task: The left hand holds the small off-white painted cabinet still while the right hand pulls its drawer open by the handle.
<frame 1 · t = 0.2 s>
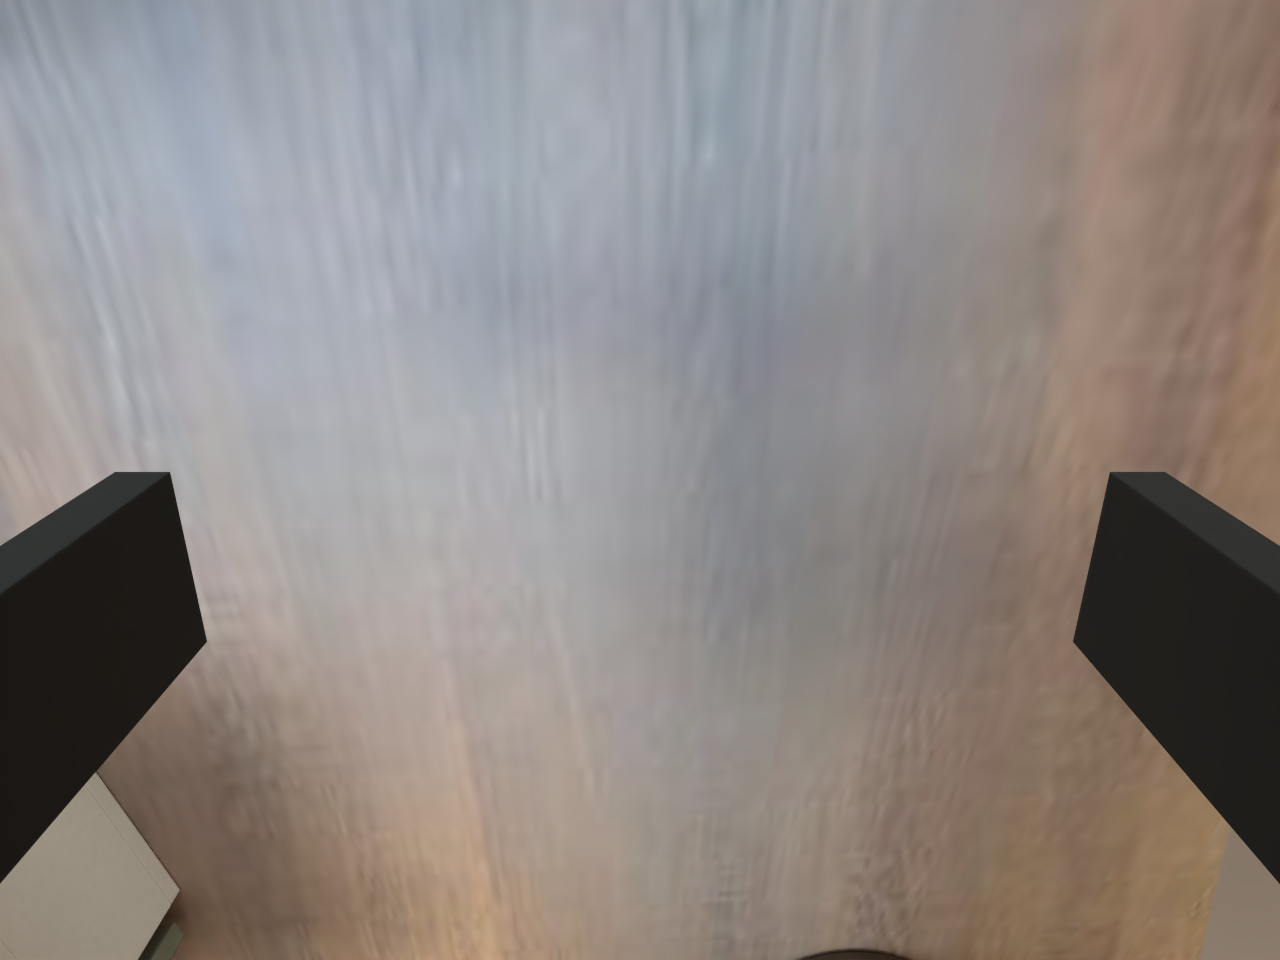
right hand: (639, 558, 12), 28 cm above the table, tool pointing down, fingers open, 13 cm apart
drawer: (16, 954, 47), point 5 cm above the table, slide at 1.3 cm
cabinet: (16, 800, 49), on the table
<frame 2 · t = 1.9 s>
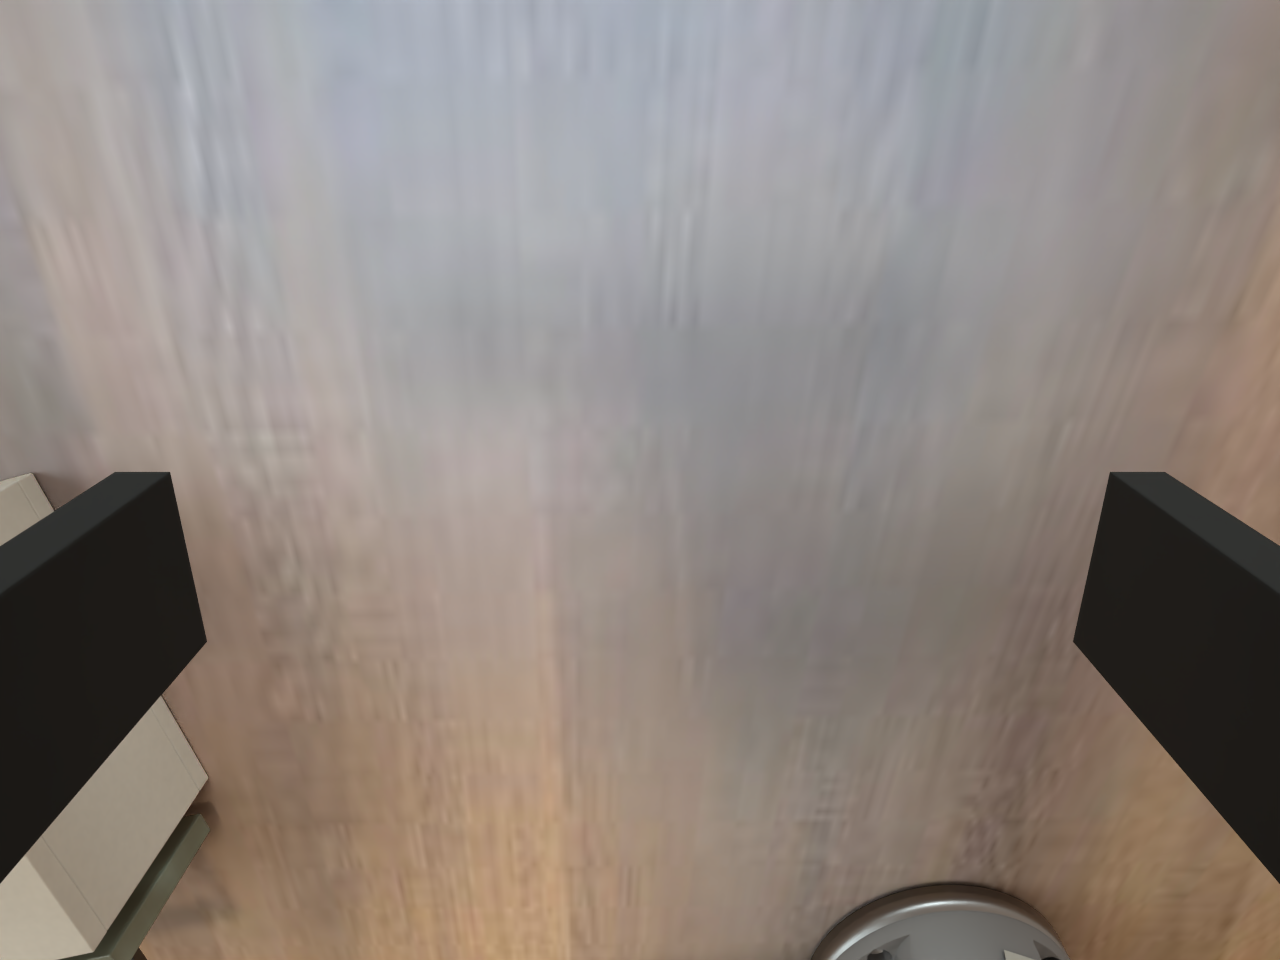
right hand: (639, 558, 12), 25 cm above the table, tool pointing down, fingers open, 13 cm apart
drawer: (23, 832, 40), point 5 cm above the table, slide at 1.3 cm
cabinet: (28, 661, 43), on the table
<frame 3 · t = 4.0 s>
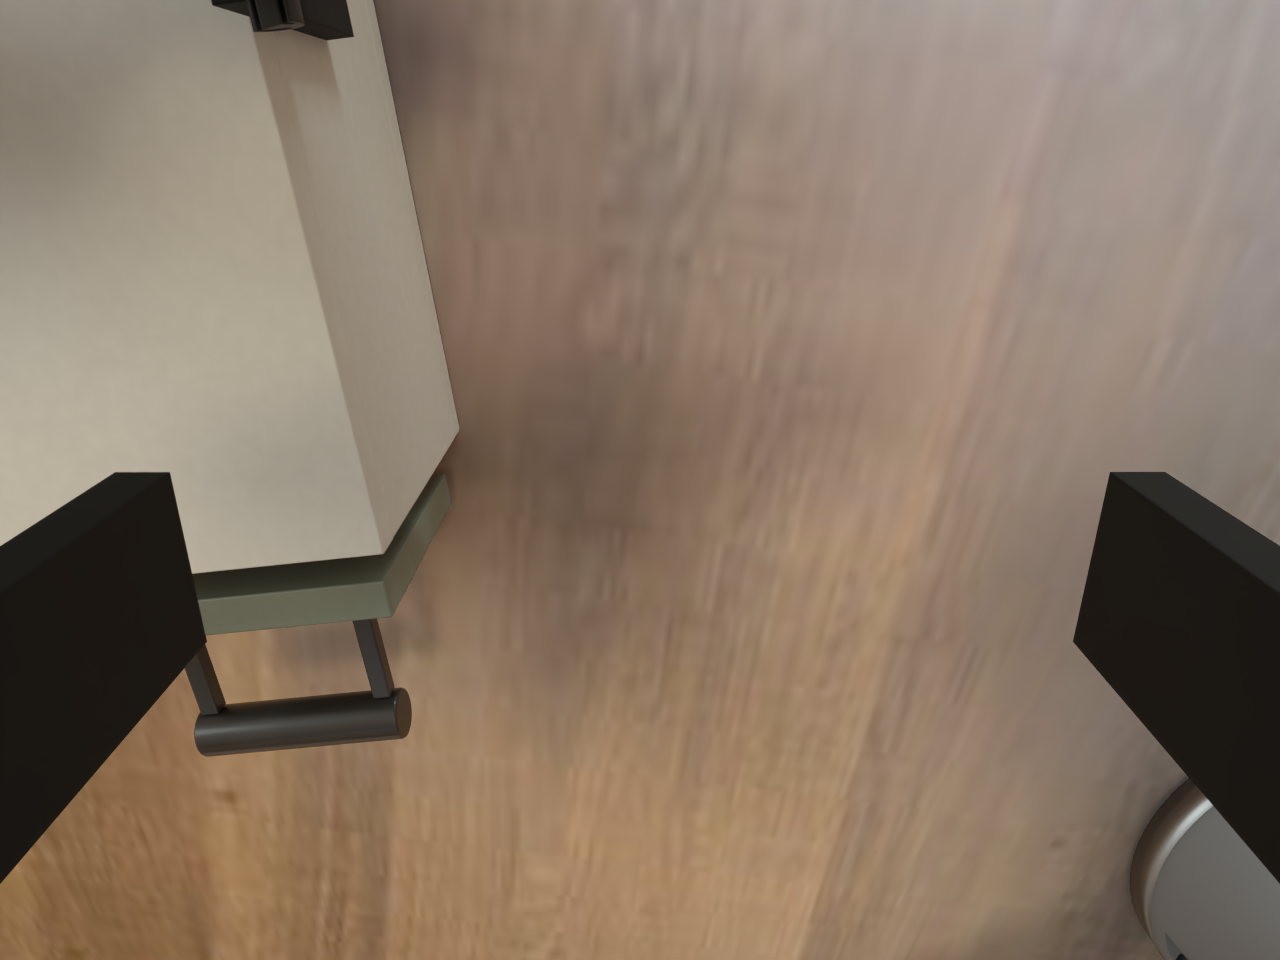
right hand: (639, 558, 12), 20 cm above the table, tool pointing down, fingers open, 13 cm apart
drawer: (239, 415, 27), point 5 cm above the table, slide at 1.3 cm
cabinet: (254, 200, 30), on the table, touching left hand
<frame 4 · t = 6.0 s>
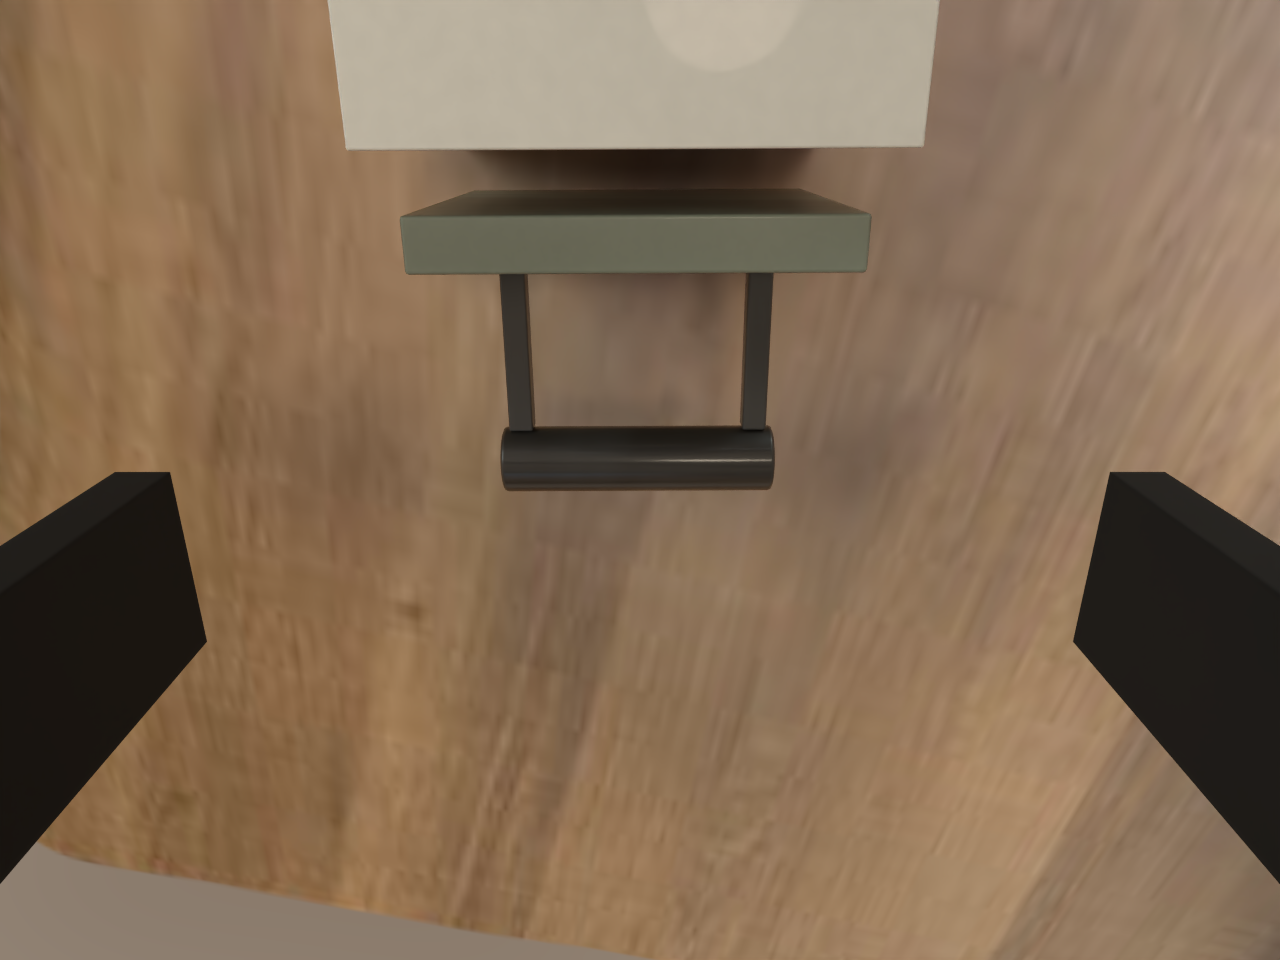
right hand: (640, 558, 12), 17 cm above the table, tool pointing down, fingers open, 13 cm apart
drawer: (635, 10, 20), point 5 cm above the table, slide at 1.3 cm
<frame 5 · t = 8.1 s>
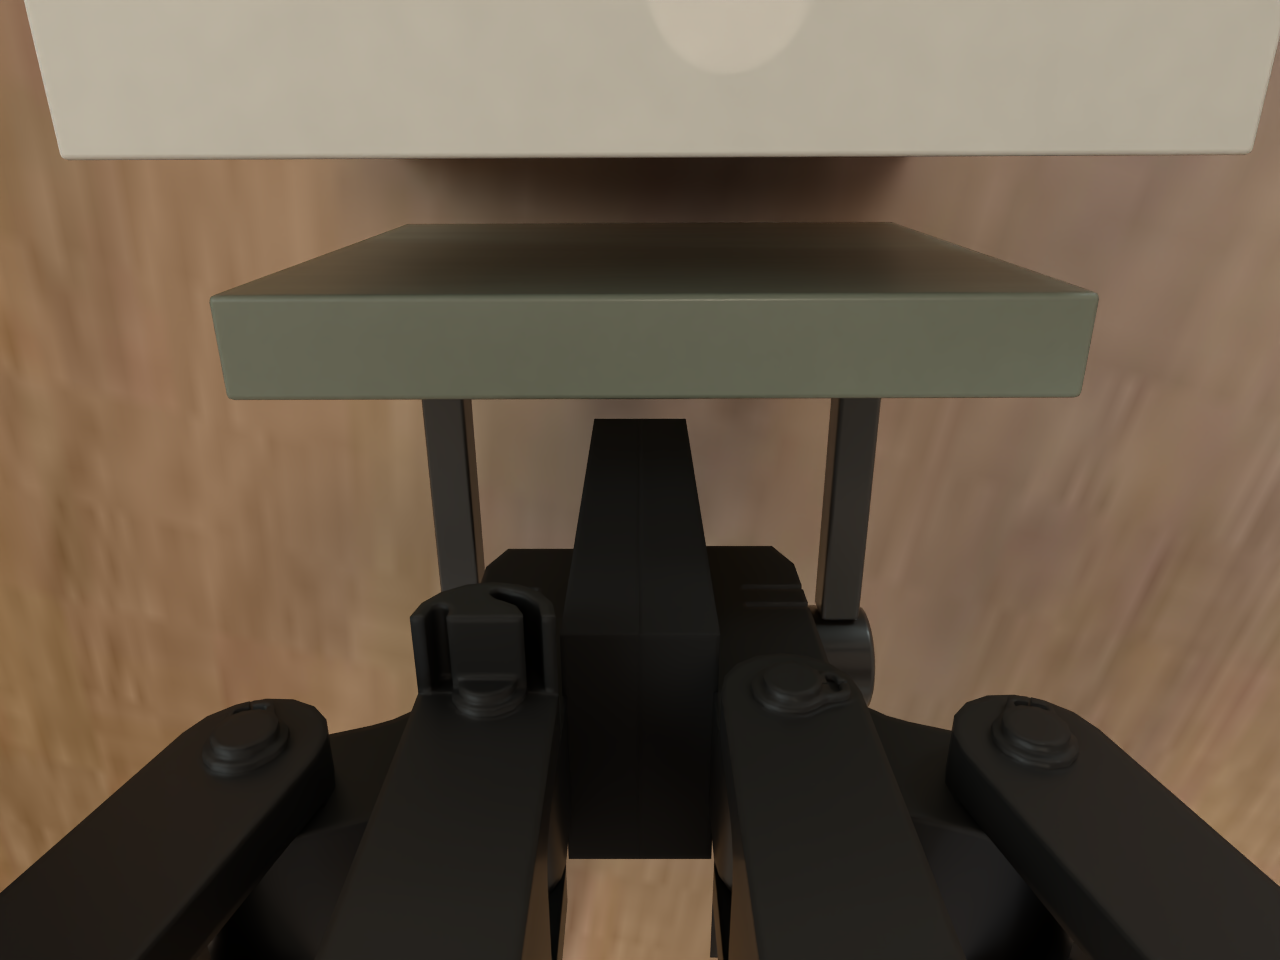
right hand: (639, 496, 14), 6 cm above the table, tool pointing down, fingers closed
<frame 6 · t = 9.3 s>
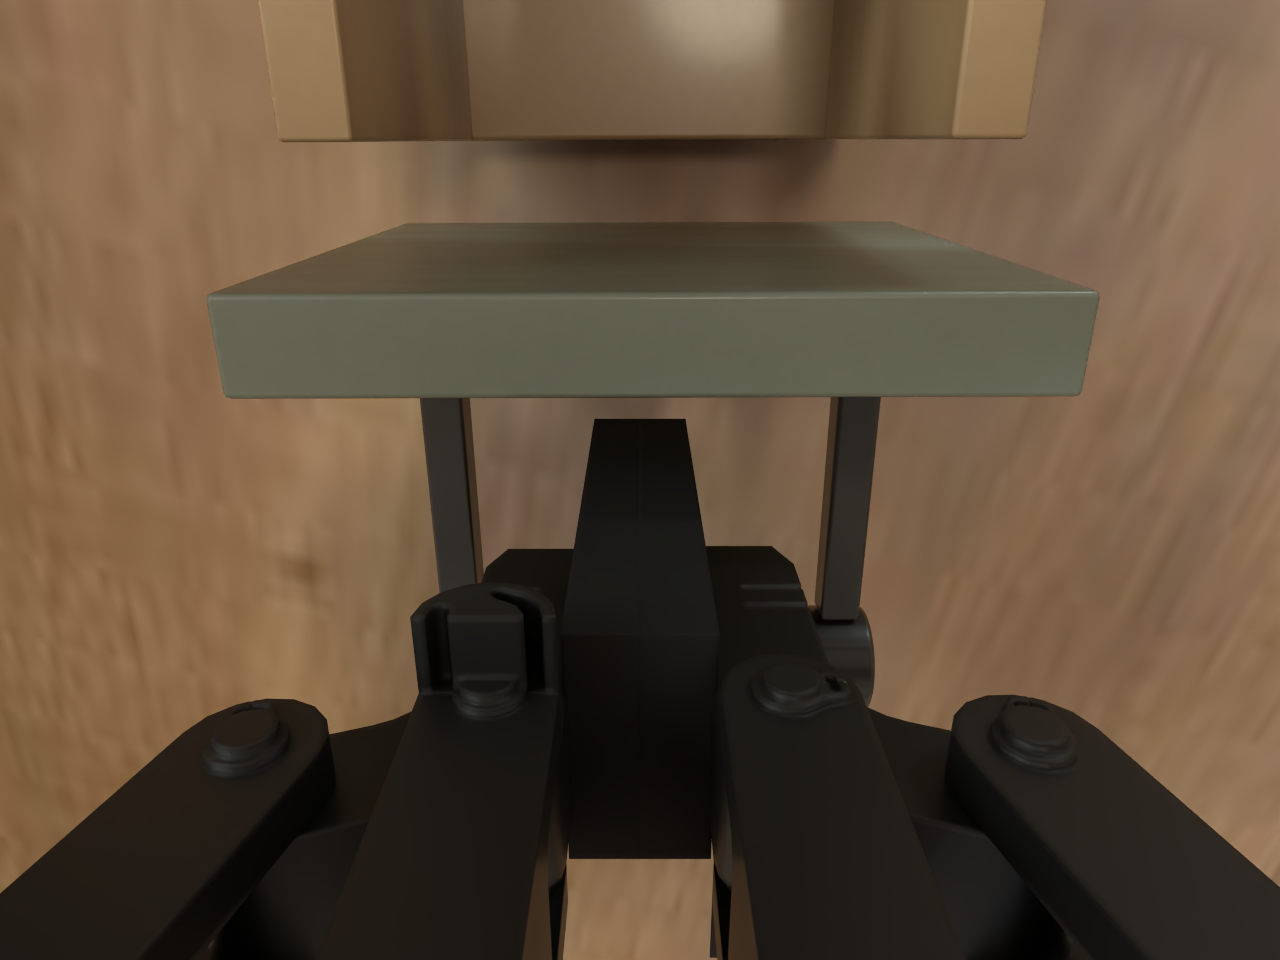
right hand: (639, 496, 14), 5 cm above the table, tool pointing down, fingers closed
when the left hand's fingers open (6 cm above the table, at t = 11.3 s): cabinet stays where it is, on the table.
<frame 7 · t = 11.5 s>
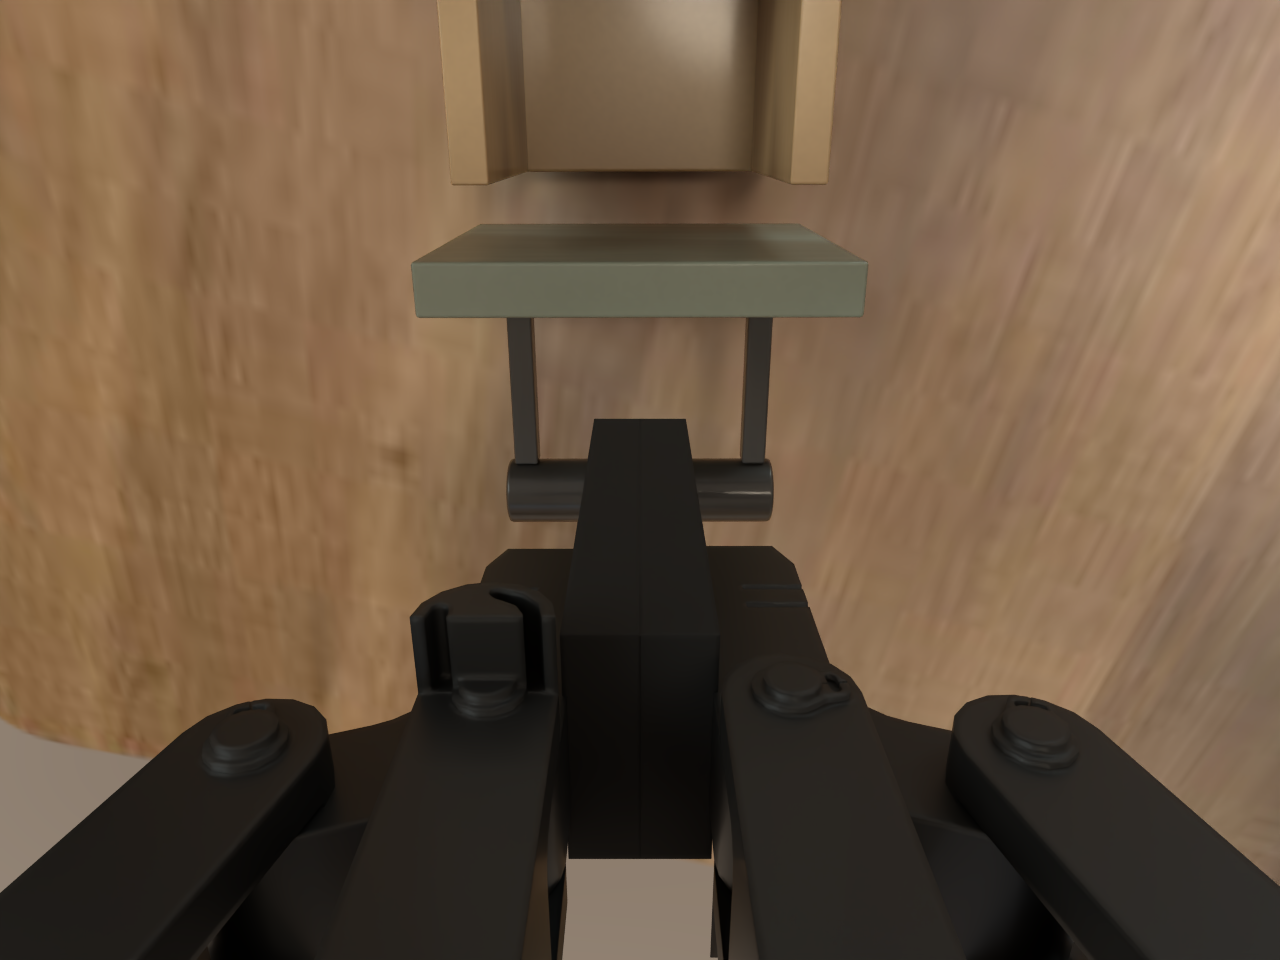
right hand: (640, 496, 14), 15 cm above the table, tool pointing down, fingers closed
drawer: (639, 58, 21), point 5 cm above the table, slide at 8.0 cm
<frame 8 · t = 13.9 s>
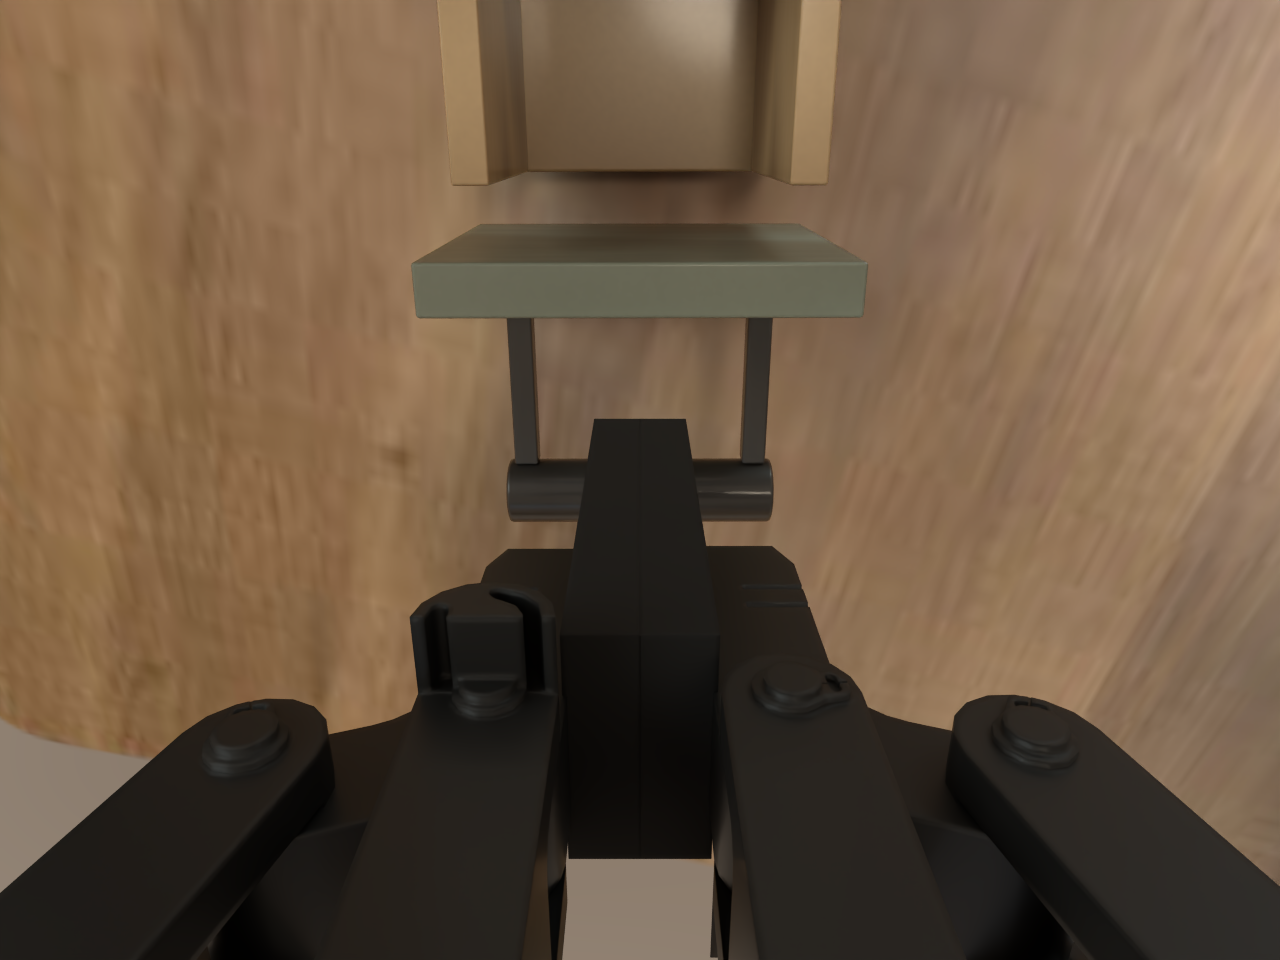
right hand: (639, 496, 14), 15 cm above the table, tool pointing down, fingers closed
drawer: (639, 58, 21), point 5 cm above the table, slide at 8.0 cm
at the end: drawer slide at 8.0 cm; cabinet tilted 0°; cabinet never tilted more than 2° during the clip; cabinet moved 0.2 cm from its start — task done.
